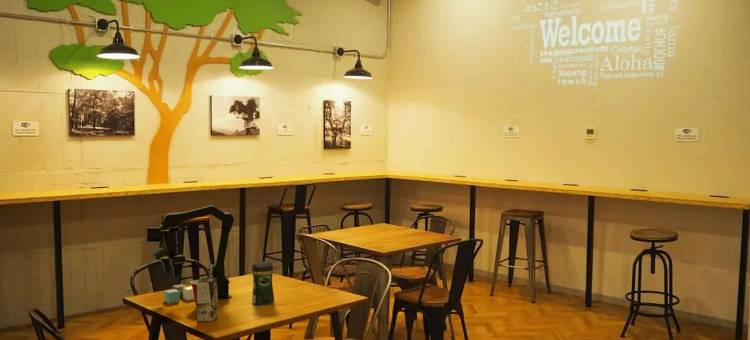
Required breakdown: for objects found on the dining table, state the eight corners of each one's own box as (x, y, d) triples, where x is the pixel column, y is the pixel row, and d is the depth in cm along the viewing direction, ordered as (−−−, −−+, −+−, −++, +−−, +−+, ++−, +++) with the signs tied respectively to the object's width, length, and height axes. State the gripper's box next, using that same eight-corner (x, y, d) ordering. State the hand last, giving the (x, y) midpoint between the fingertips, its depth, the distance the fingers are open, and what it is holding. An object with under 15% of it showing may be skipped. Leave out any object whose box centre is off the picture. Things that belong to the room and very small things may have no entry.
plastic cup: (220, 305, 302) (220, 279, 301) (207, 312, 291) (206, 284, 291) (199, 303, 305) (199, 277, 304) (185, 309, 295) (185, 282, 294)
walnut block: (187, 296, 318) (187, 286, 318) (177, 298, 315) (177, 287, 315) (182, 294, 322) (182, 284, 322) (172, 296, 319) (172, 285, 319)
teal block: (179, 302, 309) (179, 291, 308) (169, 303, 305) (168, 292, 305) (175, 299, 312) (174, 289, 312) (164, 301, 309) (164, 290, 309)
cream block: (198, 298, 314) (197, 288, 314) (187, 300, 311) (187, 289, 311) (193, 296, 318) (193, 286, 318) (183, 298, 315) (183, 287, 315)
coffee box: (212, 321, 278) (212, 282, 277) (197, 321, 278) (196, 282, 277) (218, 315, 287) (217, 277, 286) (203, 315, 287) (202, 277, 286)
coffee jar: (271, 299, 312) (271, 259, 311) (275, 304, 304) (275, 263, 303) (250, 302, 308) (249, 261, 307) (254, 306, 301) (253, 264, 300)
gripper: (145, 240, 309) (146, 274, 310) (161, 246, 295) (162, 281, 296) (168, 238, 316) (169, 271, 317) (185, 243, 302) (186, 278, 303)
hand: (171, 275), depth 308 cm, fingers open, 9 cm apart
